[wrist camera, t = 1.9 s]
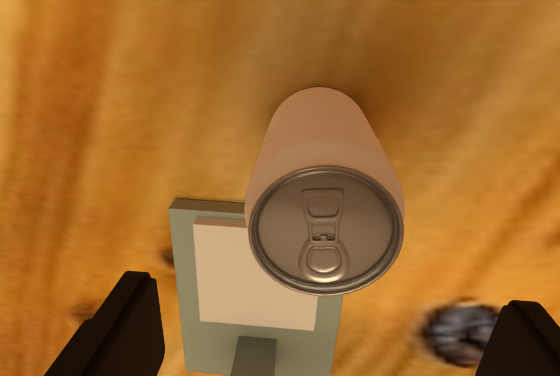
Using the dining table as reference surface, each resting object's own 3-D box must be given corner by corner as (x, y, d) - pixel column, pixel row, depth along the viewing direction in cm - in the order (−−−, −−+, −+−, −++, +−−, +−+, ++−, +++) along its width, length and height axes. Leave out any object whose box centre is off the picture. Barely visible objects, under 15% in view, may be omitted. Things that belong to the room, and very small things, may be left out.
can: (272, 181, 26) (246, 305, 15) (264, 88, 23) (225, 157, 12) (365, 178, 25) (408, 305, 14) (369, 82, 22) (426, 149, 11)
